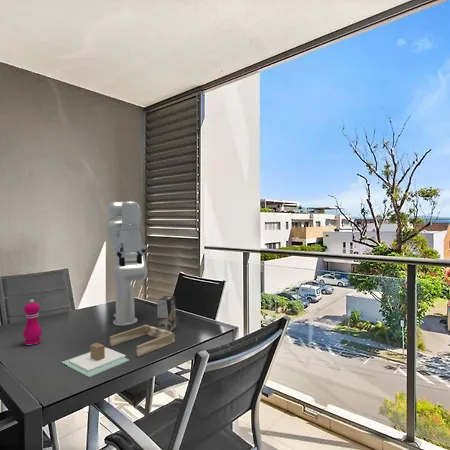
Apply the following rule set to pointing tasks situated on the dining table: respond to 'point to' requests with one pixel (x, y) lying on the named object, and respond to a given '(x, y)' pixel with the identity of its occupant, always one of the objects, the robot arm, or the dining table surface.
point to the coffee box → (166, 313)
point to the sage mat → (97, 371)
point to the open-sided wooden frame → (160, 341)
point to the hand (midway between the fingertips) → (131, 264)
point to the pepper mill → (32, 323)
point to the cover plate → (95, 363)
